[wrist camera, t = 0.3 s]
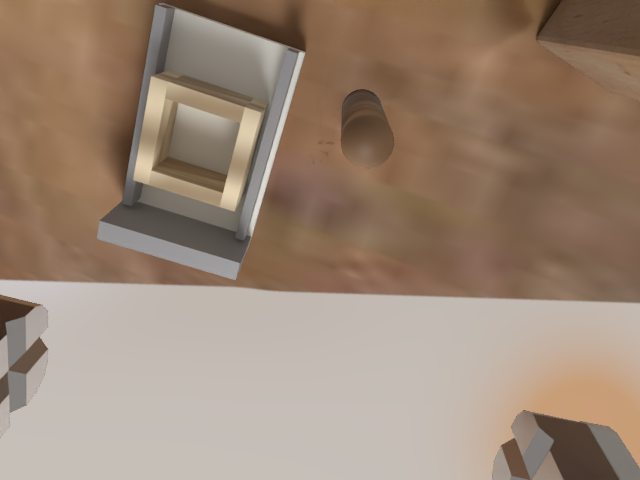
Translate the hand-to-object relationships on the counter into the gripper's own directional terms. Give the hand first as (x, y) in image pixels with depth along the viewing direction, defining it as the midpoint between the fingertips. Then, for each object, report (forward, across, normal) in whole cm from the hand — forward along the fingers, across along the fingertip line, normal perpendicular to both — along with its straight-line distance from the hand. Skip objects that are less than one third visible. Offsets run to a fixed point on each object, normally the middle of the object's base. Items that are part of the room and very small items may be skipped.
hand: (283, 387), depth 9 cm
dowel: (+46, -4, +3) cm, 46 cm away
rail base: (+46, +11, +9) cm, 48 cm away
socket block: (+44, +11, +9) cm, 46 cm away
